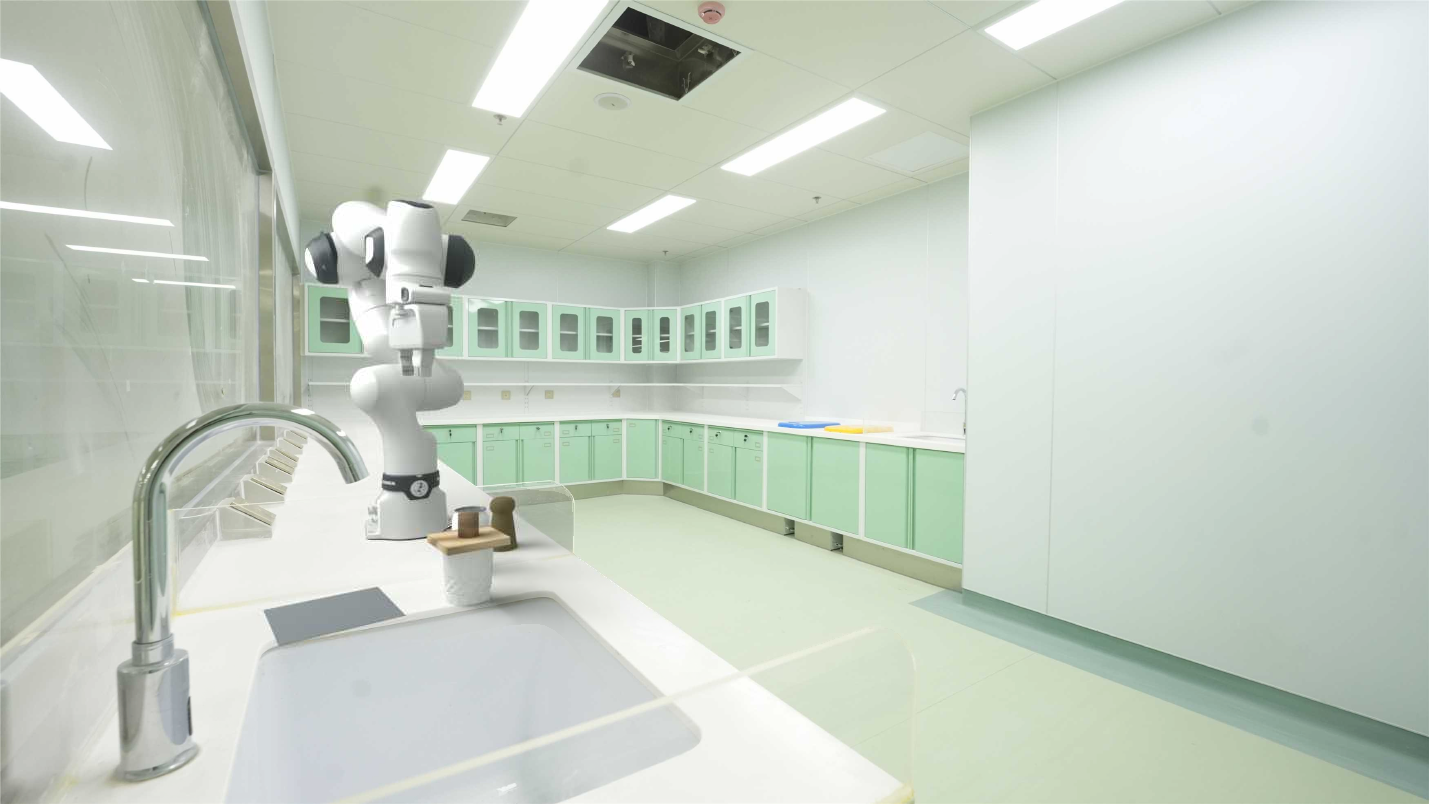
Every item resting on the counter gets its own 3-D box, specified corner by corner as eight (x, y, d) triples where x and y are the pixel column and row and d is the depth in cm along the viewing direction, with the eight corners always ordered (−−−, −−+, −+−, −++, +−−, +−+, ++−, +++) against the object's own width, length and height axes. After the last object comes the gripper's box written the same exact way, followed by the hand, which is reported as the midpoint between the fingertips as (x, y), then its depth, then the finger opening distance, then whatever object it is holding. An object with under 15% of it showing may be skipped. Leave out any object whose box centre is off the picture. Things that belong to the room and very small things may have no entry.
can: (476, 578, 113) (475, 514, 113) (444, 575, 115) (444, 512, 114) (495, 567, 120) (495, 506, 119) (465, 564, 121) (465, 504, 120)
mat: (263, 614, 96) (263, 609, 96) (377, 590, 106) (377, 586, 106) (279, 651, 84) (278, 645, 84) (405, 620, 95) (405, 614, 95)
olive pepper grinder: (493, 553, 128) (493, 501, 128) (483, 546, 133) (483, 496, 132) (521, 548, 132) (521, 497, 132) (511, 542, 137) (511, 493, 136)
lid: (426, 541, 102) (426, 512, 102) (486, 531, 109) (486, 504, 108) (447, 555, 95) (447, 525, 94) (510, 544, 101) (510, 515, 101)
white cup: (501, 603, 102) (501, 543, 101) (453, 615, 97) (452, 553, 96) (482, 590, 108) (482, 533, 107) (435, 601, 102) (435, 542, 102)
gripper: (378, 298, 112) (379, 375, 112) (413, 289, 97) (414, 377, 97) (415, 301, 116) (416, 375, 117) (454, 293, 101) (455, 377, 102)
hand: (416, 376), depth 107 cm, fingers open, 8 cm apart
